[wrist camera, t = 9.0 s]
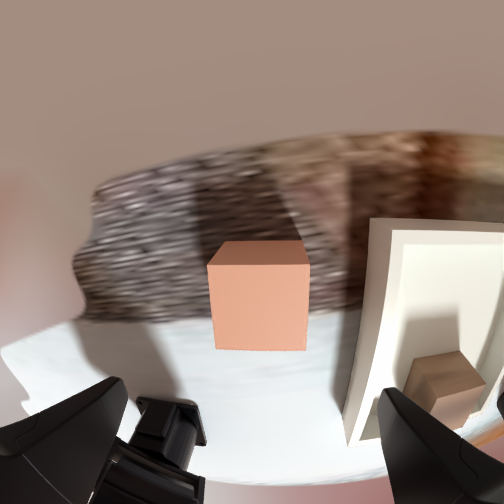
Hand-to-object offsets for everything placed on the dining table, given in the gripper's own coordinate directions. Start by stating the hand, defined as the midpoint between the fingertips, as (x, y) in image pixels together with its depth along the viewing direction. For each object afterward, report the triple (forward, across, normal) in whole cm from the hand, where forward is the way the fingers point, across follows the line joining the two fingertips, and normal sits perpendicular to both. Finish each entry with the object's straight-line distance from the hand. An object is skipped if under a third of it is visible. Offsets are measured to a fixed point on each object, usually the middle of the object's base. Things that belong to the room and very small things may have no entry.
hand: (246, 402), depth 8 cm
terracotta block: (+11, 0, 0) cm, 11 cm away
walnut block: (+10, -14, +9) cm, 20 cm away
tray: (+11, -14, +5) cm, 19 cm away
